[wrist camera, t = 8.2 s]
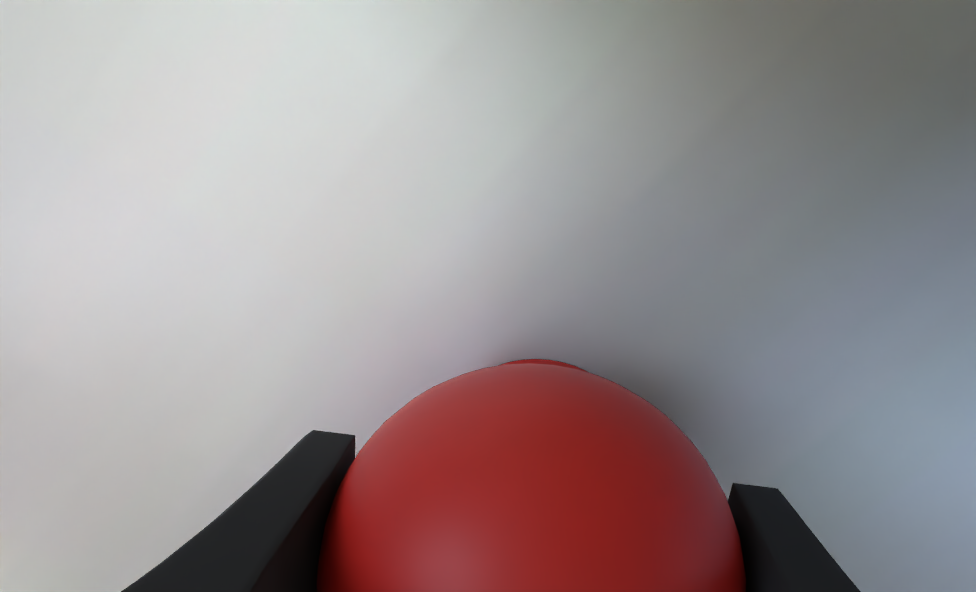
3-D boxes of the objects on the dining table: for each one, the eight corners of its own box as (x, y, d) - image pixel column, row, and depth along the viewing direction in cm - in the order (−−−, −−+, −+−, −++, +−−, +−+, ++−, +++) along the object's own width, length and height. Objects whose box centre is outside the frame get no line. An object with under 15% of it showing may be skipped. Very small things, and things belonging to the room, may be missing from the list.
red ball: (369, 543, 15) (263, 881, 10) (376, 267, 12) (237, 531, 7) (676, 584, 14) (727, 952, 10) (744, 311, 12) (861, 612, 7)
